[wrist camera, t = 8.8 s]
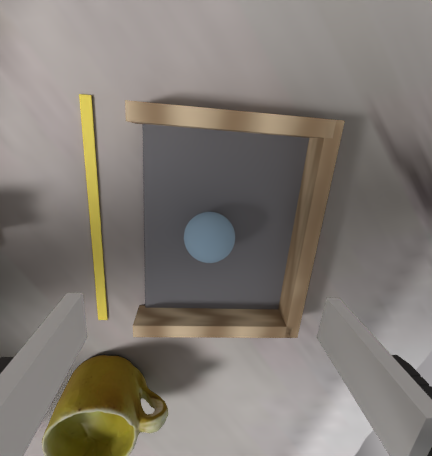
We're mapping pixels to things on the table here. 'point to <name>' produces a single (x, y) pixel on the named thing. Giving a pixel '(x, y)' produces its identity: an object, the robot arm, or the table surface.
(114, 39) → the table surface
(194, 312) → the wooden u-shaped frame
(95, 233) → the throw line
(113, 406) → the mug
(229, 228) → the ball
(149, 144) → the mat
